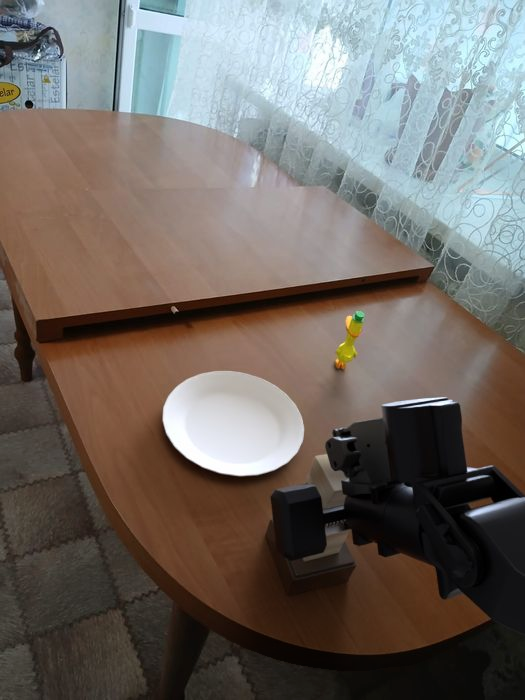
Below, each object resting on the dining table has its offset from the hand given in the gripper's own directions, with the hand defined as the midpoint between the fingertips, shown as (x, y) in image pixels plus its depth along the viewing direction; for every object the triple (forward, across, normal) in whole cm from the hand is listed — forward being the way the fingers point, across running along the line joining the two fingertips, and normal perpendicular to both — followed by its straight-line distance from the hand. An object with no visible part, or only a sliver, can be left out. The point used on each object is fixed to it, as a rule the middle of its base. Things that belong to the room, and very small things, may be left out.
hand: (323, 493), depth 61 cm
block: (+4, 0, +6) cm, 7 cm away
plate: (+22, +2, -7) cm, 24 cm away
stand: (+7, 0, +9) cm, 11 cm away
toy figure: (+30, -22, -15) cm, 40 cm away
